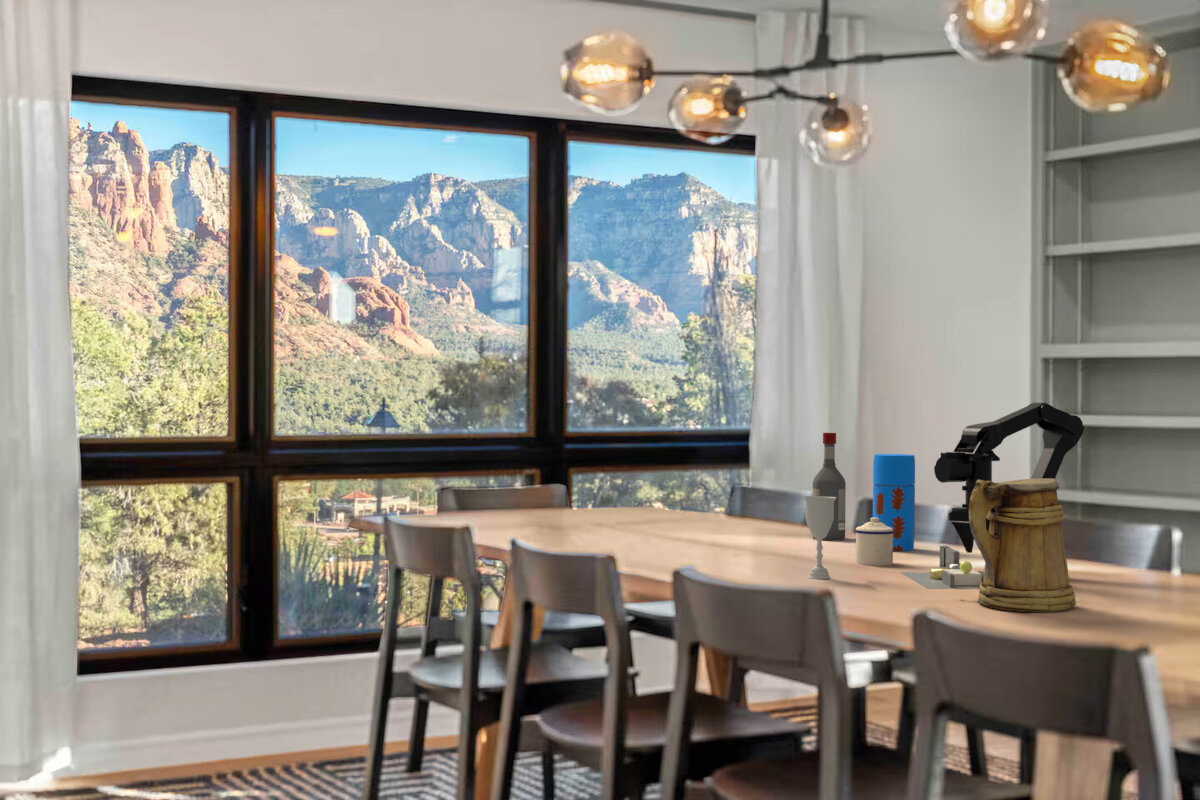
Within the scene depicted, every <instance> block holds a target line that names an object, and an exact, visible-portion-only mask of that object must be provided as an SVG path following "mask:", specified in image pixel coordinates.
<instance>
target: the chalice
mask: <svg viewBox="0 0 1200 800" xmlns="http://www.w3.org/2000/svg"><path fill="white" fill-rule="evenodd" d="M803 499H804V502H805V521H806V523H807V526H808V527H807V528H808V529H809V531H810V533H811V535H812V536H813V537H814V538H816V539H817V540H816V546H815V549H816V551H817V552H816V554H815V557H816V564H815V566H812V568H811V569H810V571H809V574H808V576H807V578H809V579H812V580H813V579H814V580H827V579H828V580H829V579H831V576H830V573H829V570H828V569H827V568H826V567H825V566H823V564H822V563H823V561H822V559H823V558H824V555H823V553H822V551H823V549H824V547H823V544H822V542H823V540H822V539H823V538H825V537H826V536H827V534H828V532H829V530H830V528H831V525H832V523H833V520H834V501H835V499H836V497H827V496H813V495H810V496H807V495H806V496H803ZM813 537H812V538H813Z"/></svg>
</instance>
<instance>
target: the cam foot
mask: <svg viewBox="0 0 1200 800" xmlns="http://www.w3.org/2000/svg"><path fill="white" fill-rule="evenodd" d="M960 563H961V564H960V569H944V571H947V572H949V573H953V575H954V585H975V586H980V584H981V583H982V574H980V573H978V571H976V570H974V569H973V565H972V563H971V562H970V561H968V560H963V561H961V562H960Z"/></svg>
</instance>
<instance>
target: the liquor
mask: <svg viewBox="0 0 1200 800" xmlns="http://www.w3.org/2000/svg"><path fill="white" fill-rule="evenodd" d="M822 444H823V445H824V446H823V447H824V448H823V463H822V467H821V469H819V471H818V472H817V474H816V475H815V476H814V478H813V481H812V496H827V497H836V499H835V501H834V520H833V523H832V525H831V528H830V530H829V532H828V534H827V536H826V537H825V538H823V539H822V541H833V540H839V541H844V540H845V538H846V499H847V498H846V496H847V495H846V491H847V490H846V489H847V488H846V486H847V485H846V484H847V482H846V480H845V477H844V476H843V474H841V472H840V470H839V469H838V468H837V466H836V461H835V460H836V456H835V455H836V454H835V453H836V452H835V451H836V449H835V444H837V432H822ZM812 539H813V540H815V539H816V538H814V537H813V536H812ZM816 541H817V539H816Z"/></svg>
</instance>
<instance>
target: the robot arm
mask: <svg viewBox="0 0 1200 800" xmlns="http://www.w3.org/2000/svg"><path fill="white" fill-rule="evenodd" d="M1034 425H1036V426H1037V427H1038V428H1040V429H1041V430H1043V432H1042V439H1043V440H1042V441H1043V445H1044V446H1043V449H1042V451H1041V453H1040V456H1039V459H1038V461H1037V464H1036V465H1035V468H1034V470H1033V472H1032V475H1031V477H1030V479H1042V478H1049V479H1055V480H1056V477H1057V476H1058V472H1059V471H1060V468H1061V466H1062V464H1063V460H1064V459H1065V456H1066V455H1067V453H1069V451H1071V450H1072V449H1074V448H1075V447H1076V446H1077V444H1078V442H1079V441H1080V440H1081V438H1082V436H1084V435H1083V434H1084V432H1085V426H1084V425H1083V420H1082V419H1081V418H1080V416H1078V415H1077V414H1076V415H1074V414H1073V415H1071V413H1068V412H1066V411H1064V410H1061V409H1059V408H1056V407H1054V406H1053V405H1051V404H1050V403H1049V404H1048V403H1047V402H1031V403H1030V404H1028V405H1027V406H1024V407H1022V408H1020V409H1019V410H1015V411H1013V412H1011V413H1009V414H1007V415H1004V416H1001V417H1000V418H998V419H996V420H993V421H989V422H988V421H987V422H981V423H980V422H979V423H975V424H971V425H970V424H969V425H967V426H965V427H964V428H963V429H962V433H961V435H960V437H959V440H958V441H957V443H956V444H955V446H953V447H954V448H953V449H952V450H951V451H941V452H940V457H939V458H937V461H936V462H935V464H934V465H935V466H934V468H933V469H934V470H933V471H934V476H935V478H936V479H937V481H938V482H940V483H943V484H945V483H964V482H965V485H962V486H961V491H965V501H964V503H962V505H961V506H957V507H952V508H951V509H950V510H948V513H947V516H948V517H947V520H948V521H950V524H951V525H952V526H953V527H954V529H955V530H956V533H957V535H958V537H959V539H960V541H961V542H962V545H963V547H964V549H965V552H966V553H968V554H972V553H973V549H974V543H975V540H974V537H973V535H972V532H971V528H970V523H969V502H970V497H971V493H972V491H973V489H974V487H975V485H976V481H977V480H983V481H991V482H993V479H992V478H993V462H1000V461H1001V458H1000V456H998V455H997V454H995V452H994V450H995V449H996V448H997V447H998V446H1000V445H1001V444H1002V443H1003V441H1004V440H1005V439H1006V438H1007V437H1009V436H1012V435H1013V434H1016V433H1018V432H1020V431H1022V430H1025V429H1027V428H1029V427H1032V426H1034ZM987 515H988V514H987ZM989 526H990V520H988V519H987V516H986V528H987V530H988V532H989Z"/></svg>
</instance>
